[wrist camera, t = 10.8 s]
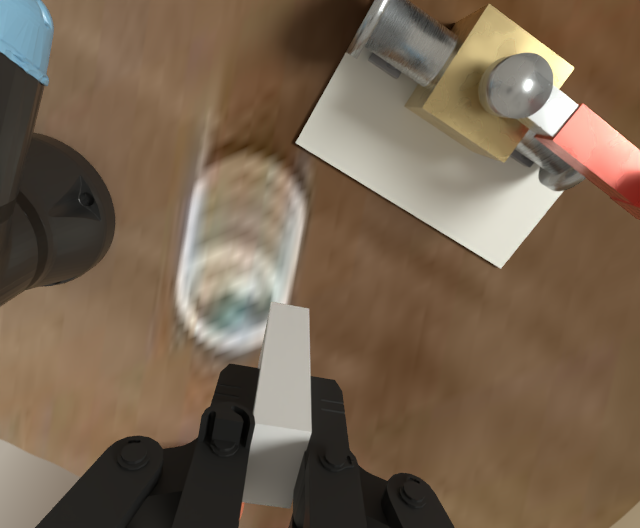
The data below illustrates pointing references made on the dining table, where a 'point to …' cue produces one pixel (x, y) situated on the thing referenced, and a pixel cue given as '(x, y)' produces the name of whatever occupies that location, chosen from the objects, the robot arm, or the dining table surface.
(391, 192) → the board
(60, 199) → the robot arm
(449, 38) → the valve
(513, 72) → the lever
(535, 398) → the dining table surface
